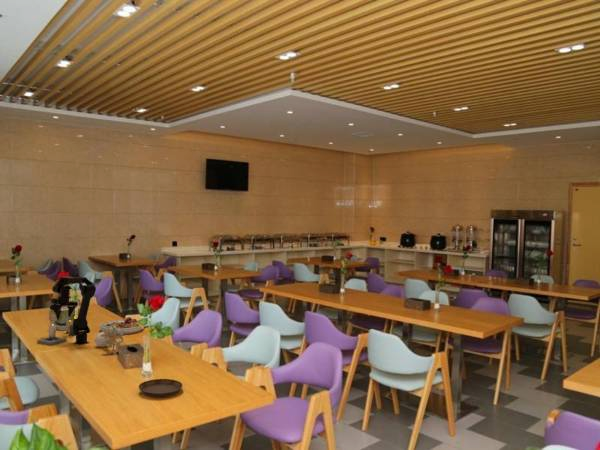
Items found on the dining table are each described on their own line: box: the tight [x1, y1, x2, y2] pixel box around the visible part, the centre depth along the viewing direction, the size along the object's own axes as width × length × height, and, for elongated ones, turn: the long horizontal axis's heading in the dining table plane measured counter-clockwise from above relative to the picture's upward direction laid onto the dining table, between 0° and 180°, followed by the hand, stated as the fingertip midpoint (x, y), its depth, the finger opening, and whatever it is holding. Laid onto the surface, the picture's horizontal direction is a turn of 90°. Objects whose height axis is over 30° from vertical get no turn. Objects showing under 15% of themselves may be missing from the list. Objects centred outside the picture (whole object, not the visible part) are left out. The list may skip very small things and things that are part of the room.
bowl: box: [99, 316, 143, 335], centre depth 367 cm, size 30×30×8 cm
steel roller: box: [48, 322, 57, 341], centre depth 328 cm, size 4×4×12 cm
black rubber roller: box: [69, 324, 76, 337], centre depth 349 cm, size 4×4×7 cm
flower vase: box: [94, 324, 124, 355], centre depth 316 cm, size 13×18×25 cm
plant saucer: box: [138, 378, 183, 398], centre depth 246 cm, size 21×21×3 cm
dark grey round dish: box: [36, 336, 67, 347], centre depth 328 cm, size 12×12×2 cm
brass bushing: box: [65, 320, 73, 335], centre depth 355 cm, size 4×4×9 cm
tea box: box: [54, 306, 80, 332], centre depth 369 cm, size 15×10×15 cm, turn 143°
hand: (63, 318), depth 340 cm, fingers open, 9 cm apart
